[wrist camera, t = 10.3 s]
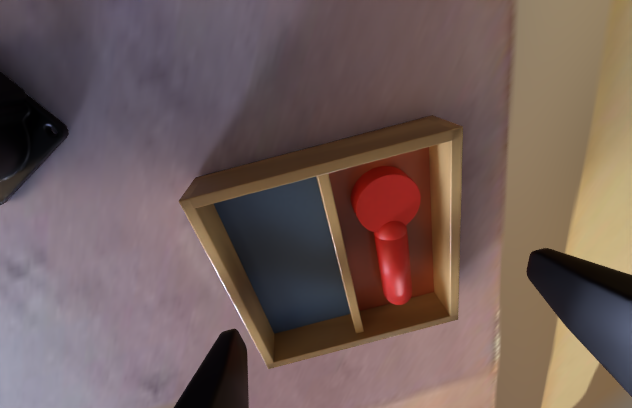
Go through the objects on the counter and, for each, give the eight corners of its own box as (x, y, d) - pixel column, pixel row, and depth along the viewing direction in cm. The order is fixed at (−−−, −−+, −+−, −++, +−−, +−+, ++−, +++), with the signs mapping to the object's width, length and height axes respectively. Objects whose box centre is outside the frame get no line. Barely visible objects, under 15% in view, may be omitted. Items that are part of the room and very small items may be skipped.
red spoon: (417, 283, 21) (430, 303, 19) (369, 296, 21) (377, 317, 19) (408, 158, 16) (425, 170, 14) (345, 175, 16) (353, 189, 14)
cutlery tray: (437, 288, 22) (458, 319, 20) (269, 333, 22) (268, 369, 20) (432, 115, 16) (463, 126, 13) (194, 177, 16) (177, 201, 13)
